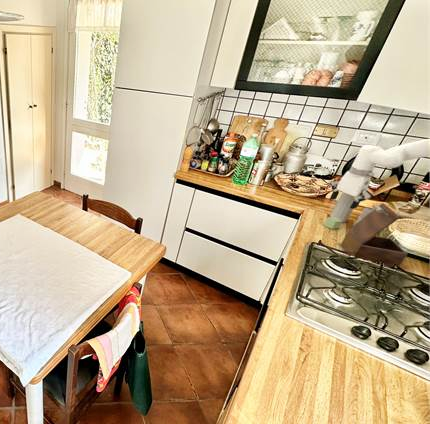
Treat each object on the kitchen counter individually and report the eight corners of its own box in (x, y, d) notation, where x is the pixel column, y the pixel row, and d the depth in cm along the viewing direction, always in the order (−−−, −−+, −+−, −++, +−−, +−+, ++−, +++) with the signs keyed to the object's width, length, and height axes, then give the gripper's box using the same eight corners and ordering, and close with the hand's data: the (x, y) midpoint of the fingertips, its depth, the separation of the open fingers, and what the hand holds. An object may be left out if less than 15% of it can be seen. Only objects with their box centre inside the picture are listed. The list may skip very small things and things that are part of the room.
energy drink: (364, 229, 157) (377, 209, 151) (367, 234, 153) (380, 213, 147) (351, 226, 159) (363, 206, 154) (353, 231, 155) (365, 210, 150)
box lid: (384, 203, 131) (373, 197, 131) (401, 217, 120) (388, 210, 121) (349, 230, 140) (339, 225, 140) (362, 245, 130) (351, 239, 130)
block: (338, 228, 158) (342, 221, 155) (331, 229, 157) (335, 221, 154) (329, 224, 161) (333, 216, 159) (323, 224, 160) (327, 217, 158)
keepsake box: (382, 252, 139) (391, 238, 135) (397, 269, 129) (408, 254, 125) (340, 245, 144) (348, 231, 140) (351, 260, 134) (360, 245, 130)
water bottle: (346, 219, 166) (370, 176, 154) (345, 224, 161) (370, 180, 149) (325, 213, 172) (347, 171, 160) (324, 218, 167) (345, 175, 155)
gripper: (386, 178, 138) (366, 211, 146) (346, 164, 152) (330, 195, 161) (374, 179, 136) (355, 212, 145) (335, 165, 151) (319, 196, 159)
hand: (342, 203), depth 153 cm, fingers open, 9 cm apart
